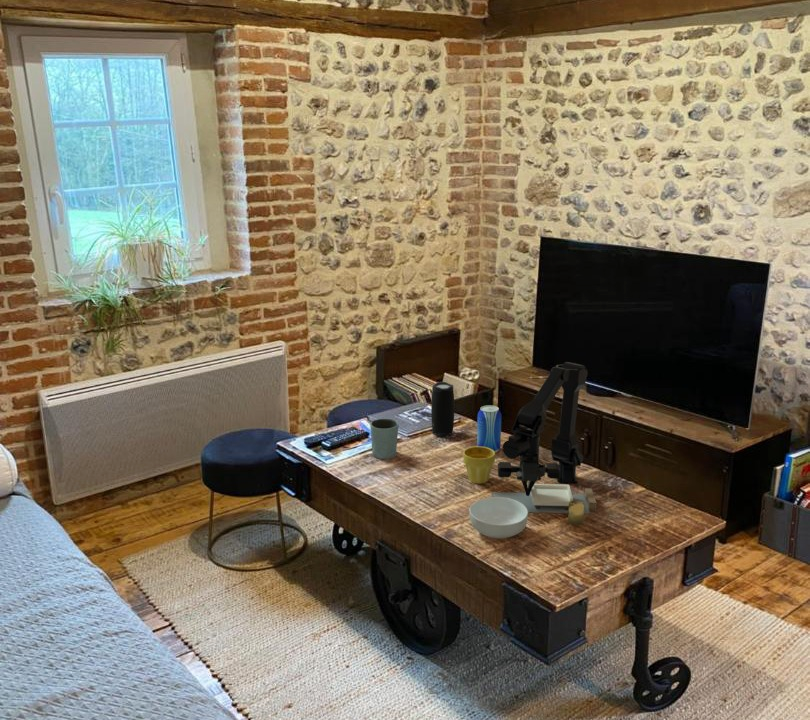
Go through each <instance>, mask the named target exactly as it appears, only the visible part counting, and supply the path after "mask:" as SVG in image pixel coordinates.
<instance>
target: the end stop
mask: <svg viewBox="0 0 810 720" xmlns="http://www.w3.org/2000/svg"><path fill="white" fill-rule="evenodd" d="M594 495H595V494H594V492H593V489H592V487H591V488H589V487H588V488H587V487H586V488H584V497H585V500H586V503H587V506H588V509H589V512H590V513H596V512H597V501H596V499H595V496H594Z"/></svg>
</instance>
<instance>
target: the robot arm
mask: <svg viewBox="0 0 810 720" xmlns="http://www.w3.org/2000/svg"><path fill="white" fill-rule="evenodd" d="M588 374H589V373H588V369H587V368H586V366H585V365H583V364H578V363H574V362H571V361H570V362H568V361H565V362H564V363H563V364H556V365H555V366H552V367H551V369H550V370H549V374H548V376H547V377H546V379H545V381H544V383H543V384H542V385H541V387H540V388H539V390H538V391H537V393H536V395H535V396H534V398H533V399H532V400H531V401H528V402H527V403H525V404H524V405H523V406H522V408H520V410H519V411H518V413H517V415H516V417H515V420H514V421H513V425H512V426H511V430H510V432H512V433H513V435H509V436H508V438H507V440H506V441H504V443H503V445H502V446H501V447H502V452H503V455H504V456H505V457H506V458H508V459H510V460H516V458H519V462H518V463H519V466H517V465H515V466H514V465H512V464H511V461H499V462H498V463H497V476H498V477H499V478H509V477H510V476H512V473H514V474H516V475H515V476H516V480H518V481H521V483H522V486H523V490H524V493H526V496H529V495H530V493H531V490H532V488H533V486H534V484H536V482H538V481H541V480H542V478H543V477H545V476H546V475H547V478H549V479H552V480H553V479H555V480H556V481H557V483H559V484H561V483H562V484H563V483H564V484H565V483H566V484H567V483H568V484H569V483H571V484H577V483H578V478H577V474H576V473H577V467H581V465H582V464H583V461H584V455H583V454H582V453H581V452H580V450H579V441H578V439H577V436H576V434H575V433H576V426H577V425H576V422H577V415H578V406H579V396H580V391H581V390H582V388H583V387H584V386H585V384H586V380H587V377H588ZM561 388H562V390H563V393H562V402H561V412H560V421H559V430H558V434H557V435H556V436H555V438H552V440H551V447H550V452H551V457H552V461H553V462H554V461H556V462H554V463H551V462H546V463H545V464H541V463H540V462H539V457H540V456H539V455H540V434H542V433H544V429H543V426H544V424H545V421H546V420H547V410H548V408H549V406H550V405H551V403H552V401H553V400H554V398H555V397H556V395H557V394H558V392H559V391H560V389H561Z"/></svg>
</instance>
